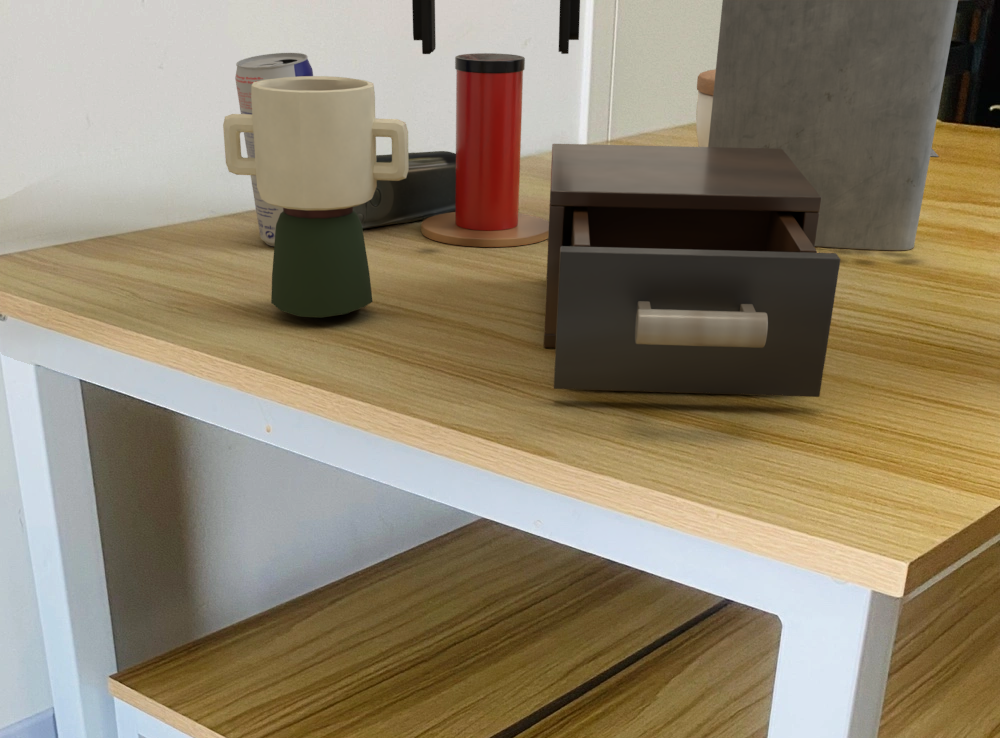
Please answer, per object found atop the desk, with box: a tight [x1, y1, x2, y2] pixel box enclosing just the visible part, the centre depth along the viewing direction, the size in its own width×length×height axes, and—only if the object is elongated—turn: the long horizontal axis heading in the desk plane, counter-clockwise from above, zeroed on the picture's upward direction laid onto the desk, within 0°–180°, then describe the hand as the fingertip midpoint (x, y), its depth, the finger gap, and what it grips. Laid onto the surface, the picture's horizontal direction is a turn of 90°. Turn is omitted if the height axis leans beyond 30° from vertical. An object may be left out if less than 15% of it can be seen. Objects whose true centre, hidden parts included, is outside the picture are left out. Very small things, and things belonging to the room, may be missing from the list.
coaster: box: [420, 212, 549, 248], centre depth 104 cm, size 10×10×1 cm
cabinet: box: [543, 143, 821, 349], centre depth 83 cm, size 16×15×9 cm
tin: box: [454, 52, 526, 231], centre depth 101 cm, size 5×5×12 cm
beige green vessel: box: [222, 75, 409, 319], centre depth 81 cm, size 11×7×13 cm, turn 82°
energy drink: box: [234, 52, 314, 247], centre depth 97 cm, size 5×5×12 cm
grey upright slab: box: [708, 0, 959, 251], centre depth 98 cm, size 16×4×20 cm, turn 72°
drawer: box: [553, 206, 841, 398], centre depth 72 cm, size 19×13×7 cm
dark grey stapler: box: [353, 150, 456, 230], centre depth 105 cm, size 5×3×15 cm
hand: (496, 52), depth 98 cm, fingers open, 9 cm apart
